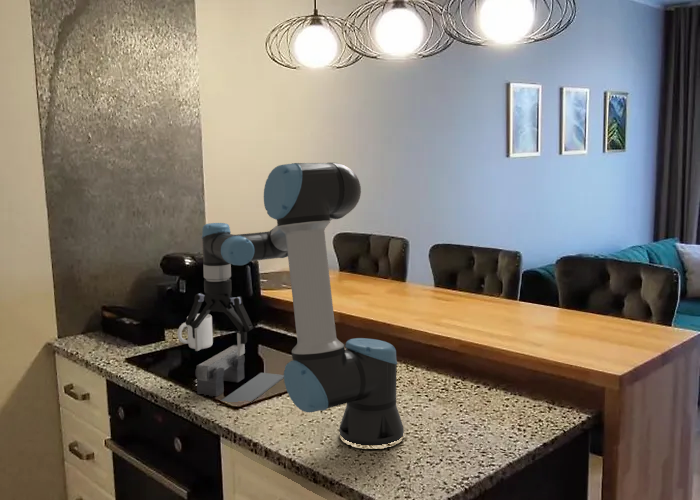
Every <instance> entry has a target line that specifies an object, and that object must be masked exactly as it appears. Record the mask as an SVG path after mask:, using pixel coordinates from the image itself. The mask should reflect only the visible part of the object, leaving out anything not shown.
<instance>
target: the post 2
mask: <svg viewBox="0 0 700 500" xmlns="http://www.w3.org/2000/svg"><path fill="white" fill-rule="evenodd" d="M245 358H246V357H245V355H244V354H243V355H241V356H238V357H237V358H235V359H234V365H232V366H231V367H229V368H228V369H226V370H224V375H223V382H229V383H238V384H239V383H240V382H241V381H242V380H244V379H245V362H246V361H245V360H246V359H245Z"/></svg>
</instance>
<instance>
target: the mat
mask: <svg viewBox="0 0 700 500" xmlns="http://www.w3.org/2000/svg"><path fill="white" fill-rule="evenodd" d="M282 380H284V374H278V373H268V372H259V373H258V374H257V375H256V376H254V377H253V378H251V379H249V380H248V381H247V382H246V383H243V384H242V385H241V386H240V387H237V389H235V390H234V391H232V392H231V393H229V394H228V395H226V396H225V397H224V398H222V399H221V400H220V401H227V402H238V401H244V400H246V401H247V400H248V401H252V400H254V399H255V400H257V399H258V398H259V397H261V396H262V395H264V392H265V393H266V392H267V391H268V390H270V389H271V388H273V387H274V386H275V385H276V384H278V383H279V382H281V381H282ZM260 395H261V396H260ZM257 397H258V398H257ZM256 398H257V399H256ZM255 400H254V401H255Z"/></svg>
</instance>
